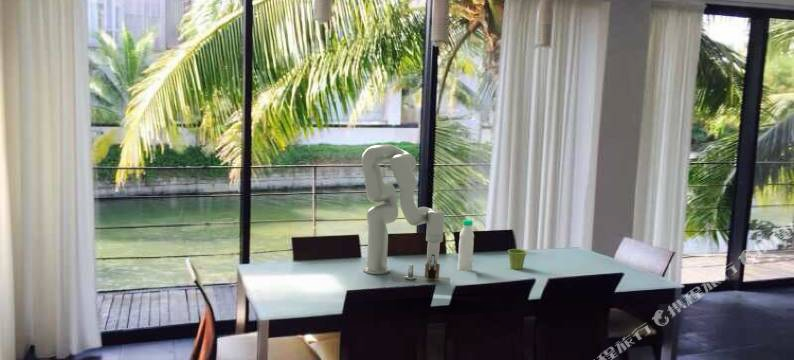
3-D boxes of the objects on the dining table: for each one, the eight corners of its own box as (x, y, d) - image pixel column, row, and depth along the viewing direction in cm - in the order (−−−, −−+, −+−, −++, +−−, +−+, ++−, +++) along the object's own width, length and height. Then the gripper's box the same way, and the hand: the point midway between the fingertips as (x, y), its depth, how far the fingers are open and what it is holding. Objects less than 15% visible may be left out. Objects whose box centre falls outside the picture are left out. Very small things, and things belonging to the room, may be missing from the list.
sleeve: (424, 274, 304) (425, 262, 303) (439, 275, 304) (439, 263, 303) (424, 278, 298) (425, 265, 297) (438, 280, 297) (439, 267, 296)
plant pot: (517, 271, 328) (518, 254, 326) (502, 267, 335) (504, 250, 334) (529, 269, 334) (530, 252, 332) (515, 264, 341) (516, 248, 340)
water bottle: (474, 270, 327) (477, 220, 323) (468, 273, 321) (471, 222, 317) (461, 267, 330) (464, 218, 327) (454, 270, 324) (457, 220, 321)
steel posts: (405, 276, 304) (405, 262, 303) (435, 278, 303) (436, 264, 302) (404, 279, 299) (404, 265, 298) (434, 281, 298) (435, 267, 297)
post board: (393, 277, 308) (393, 273, 308) (450, 280, 306) (450, 277, 306) (391, 284, 296) (391, 281, 296) (449, 288, 294) (450, 285, 294)
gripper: (426, 232, 307) (424, 270, 309) (425, 241, 290) (422, 281, 292) (443, 233, 306) (440, 271, 309) (442, 242, 289) (439, 282, 292)
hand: (431, 275), depth 301 cm, fingers closed on sleeve, 6 cm apart
